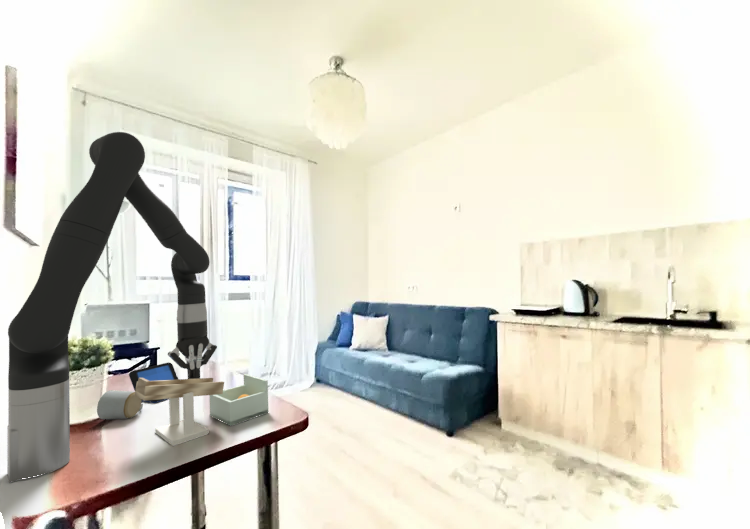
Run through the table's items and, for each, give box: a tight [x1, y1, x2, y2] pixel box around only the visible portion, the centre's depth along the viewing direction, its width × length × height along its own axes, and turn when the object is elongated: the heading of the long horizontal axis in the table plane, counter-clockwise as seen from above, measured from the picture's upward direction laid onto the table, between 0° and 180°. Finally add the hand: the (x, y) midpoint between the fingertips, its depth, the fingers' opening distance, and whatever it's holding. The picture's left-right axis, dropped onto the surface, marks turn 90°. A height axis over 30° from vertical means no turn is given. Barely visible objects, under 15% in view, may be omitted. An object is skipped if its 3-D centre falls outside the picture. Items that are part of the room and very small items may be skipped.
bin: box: [209, 373, 270, 427], centre depth 99 cm, size 11×12×9 cm
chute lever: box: [134, 377, 225, 402], centre depth 91 cm, size 18×16×4 cm
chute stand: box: [154, 392, 209, 447], centre depth 88 cm, size 8×12×10 cm, turn 48°
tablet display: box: [128, 362, 179, 404], centre depth 121 cm, size 16×13×9 cm
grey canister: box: [96, 389, 144, 420], centre depth 102 cm, size 11×8×8 cm
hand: (194, 381), depth 99 cm, fingers closed
